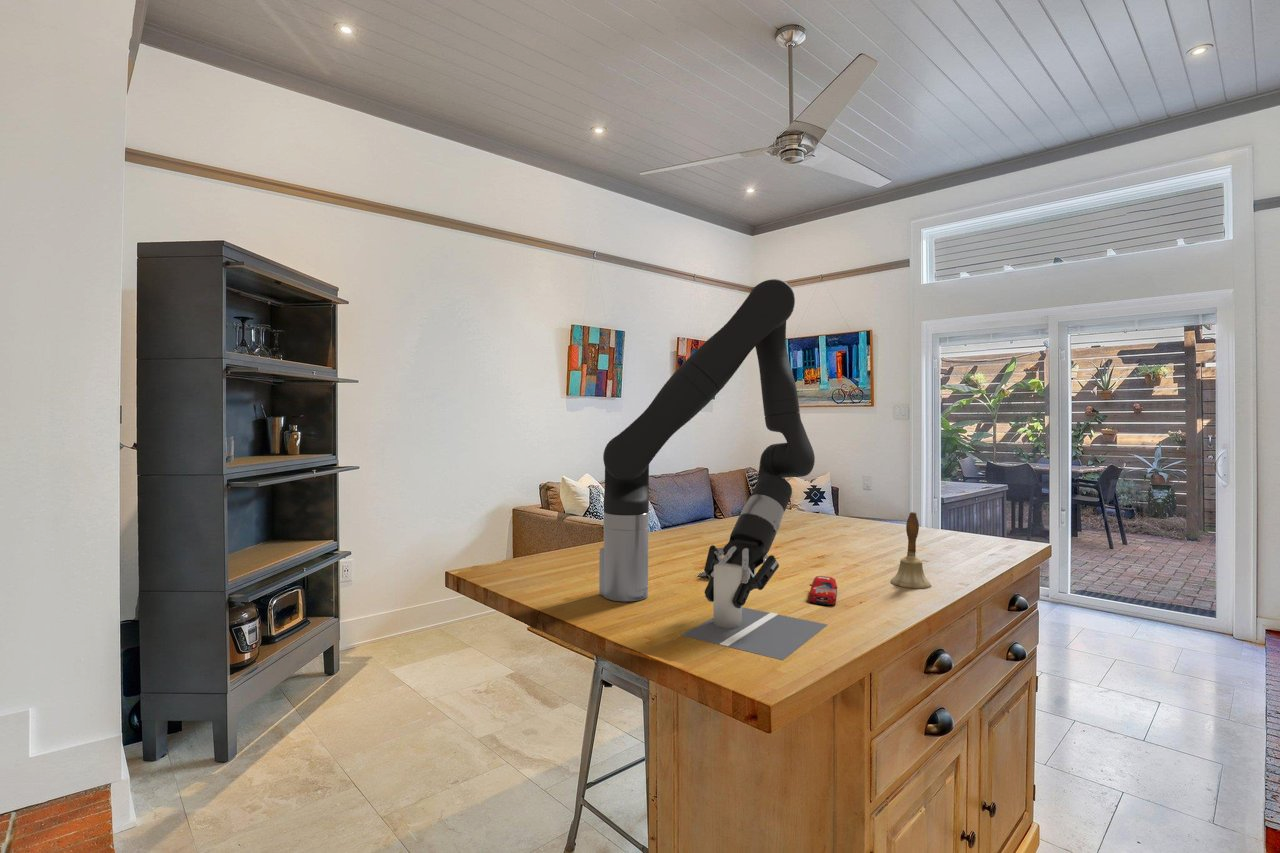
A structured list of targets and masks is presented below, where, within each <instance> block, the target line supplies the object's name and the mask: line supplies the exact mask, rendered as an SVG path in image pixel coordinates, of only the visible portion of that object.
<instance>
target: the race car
mask: <svg viewBox="0 0 1280 853" xmlns="http://www.w3.org/2000/svg"><path fill="white" fill-rule="evenodd" d="M836 580H837V579H835V578H834V577H831V576H822V575H817V576H815V577H814V579H813V580H812V583H811V584H809V587H810V590H809V596H808V598H809V603H810V602H812V603H811V604H818V605H829V606H830V605H831V606H836V604H837V597H838V584H837V581H836Z"/></svg>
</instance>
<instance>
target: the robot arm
mask: <svg viewBox="0 0 1280 853" xmlns="http://www.w3.org/2000/svg"><path fill="white" fill-rule="evenodd" d="M795 299H796V297H795V293H794V291H793V288H792V287H791V286H790V284H789V283H787V282H786V281H784V280H781V279H777V278H776V279H775V278H772V279H766V280H763V281H762V282H760V283H758V284H757V285H755V286H754V287H753V288H752V290H751V291H750V293H749V294H748V296H747V297H746V299H745V300H744V301H743V303H742V304H741V305H740V307H739V308H738V309H737V310H736V311H735V313H734V314H733V315H732V317H731V318H730V319H729V320H728V321H727V322H726V323H725V324H724V325H723V326H722V327H721V328H720V329H719V330H717V331H716V332H715V333H714V334H713V335H712V336H710V337H708V338H709V339H707V340H706V341H705V342H704V343H703V344H702V345H700V346H699V347H698V348H697V349H696V350H695V351H694V352H693V353H692V354H691V355H690V356H689V357H688V358H687V359H686V360H684V361H683V363H682V364H681V365H680V366H679V367H678V368H677V370H676V371H675V372H674V373H672V375H671V376H670V377H669V379H667V381H666V382H665V383H664V385H663V386H662V388H660V390H659V391H658V392H657V394H656V395H655V397H654V398H653V400H652V401H651V402H650V404H649V405H648V406H647V408H646V409H645V410H644V411H643V412H642V413H641V414H640V415H639V416H638V417H637V418H636V419H635V420H634V421H632V423H630V424H629V425H628V426H627V427H626V428H625V429H623V430H622V431H621V432H619V434H617V435H616V436H614V437H612V439H610V440H609V441H608V443H607V444H606V446H605V448H604V450H603V456H602V458H603V459H602V460H603V464H604V491H603V492H604V494H603V547H601V548H599V556H598V558H599V563H598V564H599V572H598V574H599V578H598V579H599V582H598V583H599V584H598V585H599V587H598V589H599V590H598V594H599V595H600V596H602V597H604V598H605V599H607V600H610V601H615V602H636V601H642V600H644V599H646V598H648V597H649V532H650V531H649V523H650V522H649V512H650V510H649V509H650V508H649V507H650V506H649V505H650V504H649V503H650V464H651V462H652V461H653V459H654V458H655V457H656V456H657V454H658V453H659V452H660V450H661V449H663V446H664V445H665V444H666V443H667V442H668V441H669V440H670V438H671V437H672V436H673V435H674V434H675V433H676V432H678V431H679V430H680V429H681V428H682V427H684V426H685V425H686V424H687V423H688V422H690V421H691V420H692V419H693V418H694V417H695V416H697V414H698V413H699V412H701V411H702V409H704V408H705V407H706V406H707V405H709V403H710V402H711V401H712V400H713V399H714V398H715V397H716V396H717V394H718V393H719V392H721V390H722V389H723V388H724V387H725V386H726V384H727V383H728V382H729V381H730V379H732V377H733V376H734V375H735V373H736V372H737V371H738V370H739V368H740V366H741V365H742V364H743V363H744V361H745V359H746V358H748V356H749V354H750V353H751V352H752V351H753V349H754V348H755V352H756V356H757V362H758V368H759V378H760V387H761V397H762V399H761V400H762V406H763V413H764V416H763V417H764V422H765V426H766V428H767V430H768V431H770V432H773V433H774V432H776V433H780V434H782V435H783V437H784V439H785V440H786V442H781V443H779V442H778V443H773V444H770V445H769V446H766V448H765V449H764V450H763V452H762V454H761V455H760V460H759V468H758V473H757V480H756V485H755V486H754V488H753V491H752V493H751V494H750V497H749V498H748V500H747V501H746V503H745V504H744V506H743V508H742V510H741V512H740V513H739V516H738V518H737V520H736V522H735V524H734V527H733V529H732V531H731V533H730V536H729V541H728V542H727V543H726V544H725V545H724V547H718V548H717V547H716V546H715V545H710V547H709V549H708V553H707V556H706V561H705V566H704V569H703V570H704V571H703V572H705V573H706V574H707V576H708V577H709V579H708V580H709V581H708V582H707V583H708V584H707V586H706V587H705V589H704V596H705V598H706V600H708V602H712V603H714V565H716V564H722V563H730V564H737V565H740V566H742V567H743V569H742V584H740V585H739V586H738V589H737V591H736V593H735V595H734V597H733V600H732V603H733V605H734V606H735V607H736V608H741V606H742V607H744V605H745V604H746V602H747V600H748V597H749V595H750V593H751V591H753V590H756V589H757V590H758V591H761V590H764V588H765V587H766V585H767V584H768V582H769V581H770V580H771V578H772V577H773V576H774V574H775V573H776V571H777V570H778V568H779V567H780V565H779V562H778V561H777V558H776V556H774V555H772V554H771V555H767V554H768V553H769V551H770V549H771V546H772V544H773V542H774V540H775V538H776V535H777V533H778V531H779V530H780V527H781V524H782V520H783V516H784V514H785V511H786V509H787V507H788V504H789V502H790V499H791V497H792V494H793V489H792V486H791V484H790V482H789V481H788V480H786V479H785V478H802V477H806V476H808V475H810V474H811V472H812V471H813V469H814V466H815V462H816V461H815V459H816V457H815V451H814V449H813V446H812V444H811V442H810V439H809V437H808V435H807V432H806V429H805V427H804V424H803V422H802V419H801V413H800V411H801V410H800V403H799V396H798V394H799V393H798V389H797V384H796V381H795V377H794V373H793V370H792V367H791V363H790V359H789V355H788V350H787V349H788V348H787V321H788V320H789V319H790V317H791V316H792V314H793V311H794V308H795V302H796V300H795ZM721 558H722V559H721ZM719 561H720V562H719ZM759 566H760V568H759V569H758V570H757V572H756V569H757V568H758V567H759Z"/></svg>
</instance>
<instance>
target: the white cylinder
mask: <svg viewBox="0 0 1280 853" xmlns="http://www.w3.org/2000/svg"><path fill="white" fill-rule="evenodd" d="M742 569H743V567H742V566H740V565H737V564H730V563H722V564H716V565H714V601H713V616H712V618H713V623H714V624H715V625H716V626H719V627H723V628H736V627H740V626H741V625H742V607H743V606H741V608H736V607H735V606H734V605H733V603H732V600H733V597H734V595H735V593H736V591H737V589H738V586H739V585H740V584H742V583H743V582H742V574H743V573H742Z"/></svg>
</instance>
